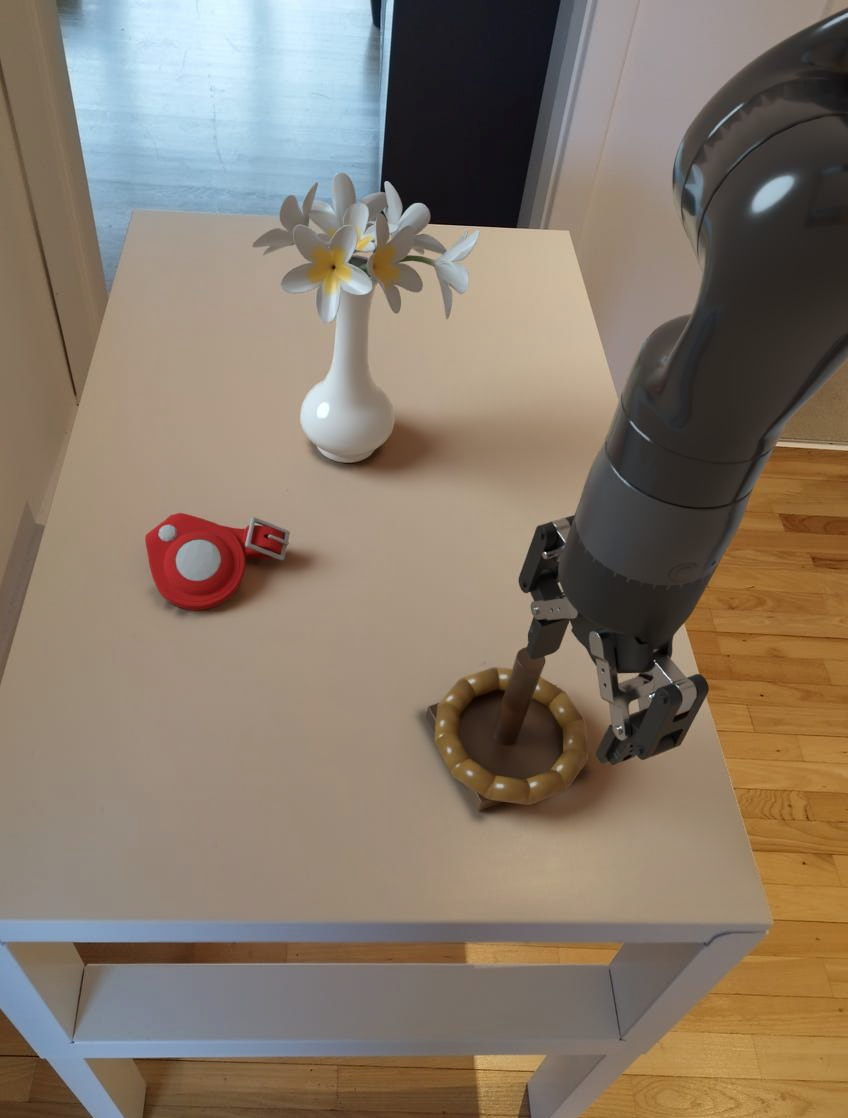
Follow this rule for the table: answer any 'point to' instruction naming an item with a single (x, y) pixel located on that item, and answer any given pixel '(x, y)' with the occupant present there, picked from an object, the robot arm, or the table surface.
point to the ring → (499, 785)
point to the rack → (510, 728)
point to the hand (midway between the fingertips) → (574, 701)
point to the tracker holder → (207, 557)
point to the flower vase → (357, 300)
